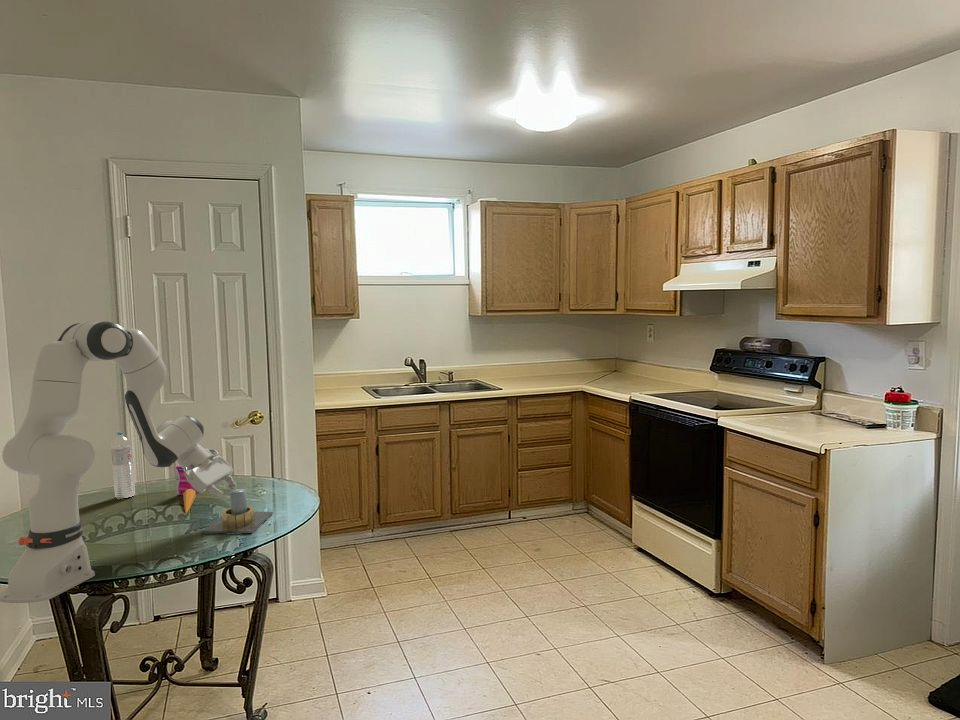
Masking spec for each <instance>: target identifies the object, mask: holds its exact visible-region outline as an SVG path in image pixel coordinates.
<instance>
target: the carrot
mask: <svg viewBox="0 0 960 720" xmlns="http://www.w3.org/2000/svg"><path fill="white" fill-rule="evenodd" d="M182 497H183V504H184V505H183V506H184V512H185V515H187V514H188V512H189V511H190V510H191V507H192V506H193V503H194V502H195V499H196V497H197V494H196V492H195V491H194V490H192V489H187V490H186V491H185V492H184V493H183V496H182Z"/></svg>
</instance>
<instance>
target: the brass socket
mask: <svg viewBox="0 0 960 720" xmlns="http://www.w3.org/2000/svg"><path fill="white" fill-rule="evenodd" d="M247 509H248V512H245V513H242V514H231V507H228V508H225V509H224V510H222V511H221V516H222V523H223V525H225V526H241V525H246V524H248V523H251V522H253V521H254V520H255V512H256V511H255V508H254V506H250V505H247Z"/></svg>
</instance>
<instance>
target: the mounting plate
mask: <svg viewBox="0 0 960 720" xmlns="http://www.w3.org/2000/svg"><path fill="white" fill-rule="evenodd" d="M254 512H255V520H254V521H253V522H251V523H248V524H246V525H241V526H225V525H223V523H222V515H221V516H220V517H219V518H217V519H216V520H215V521H213V522H211V524H209V525H208V526H207V527H205V528H204V529H203V530H201V534H202V533H252V534H253V533H254V532H256V531H257V530H258V529H259V528H260V527H261V526H262V525H263V524H264V523H265V522H266V521H265V520H267V519H268V518H269V517H270V516H271V515H272V514H273V515H274V512H273V511H254ZM273 515H272V516H273ZM272 516H271V517H272ZM271 517H270V518H271ZM270 518H269V519H270ZM269 519H268V520H269ZM264 521H265V522H264ZM263 522H264V523H263ZM262 523H263V524H262ZM261 524H262V525H261ZM260 525H261V526H260ZM259 526H260V527H259ZM258 527H259V528H258ZM257 528H258V529H257ZM256 529H257V530H256Z"/></svg>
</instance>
